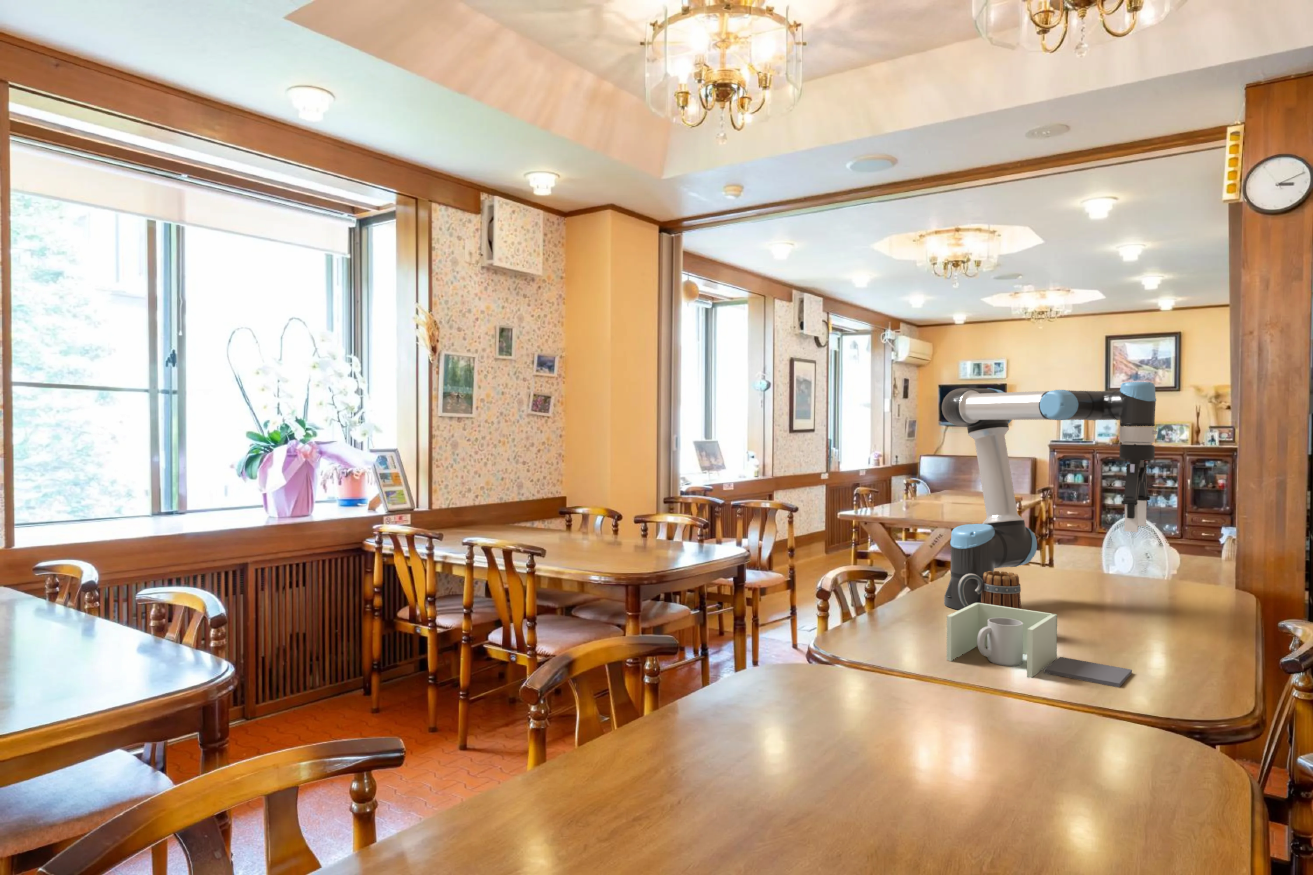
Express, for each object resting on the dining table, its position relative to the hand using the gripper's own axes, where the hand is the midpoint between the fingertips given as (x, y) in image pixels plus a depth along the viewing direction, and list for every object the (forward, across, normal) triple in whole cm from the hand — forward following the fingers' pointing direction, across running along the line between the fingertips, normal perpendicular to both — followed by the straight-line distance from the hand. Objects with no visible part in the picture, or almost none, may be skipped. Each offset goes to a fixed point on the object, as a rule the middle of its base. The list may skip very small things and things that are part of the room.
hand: (1135, 528), depth 198 cm
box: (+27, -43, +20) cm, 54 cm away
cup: (+27, -45, +20) cm, 56 cm away
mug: (+27, -20, +29) cm, 44 cm away
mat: (+27, -42, +3) cm, 49 cm away
